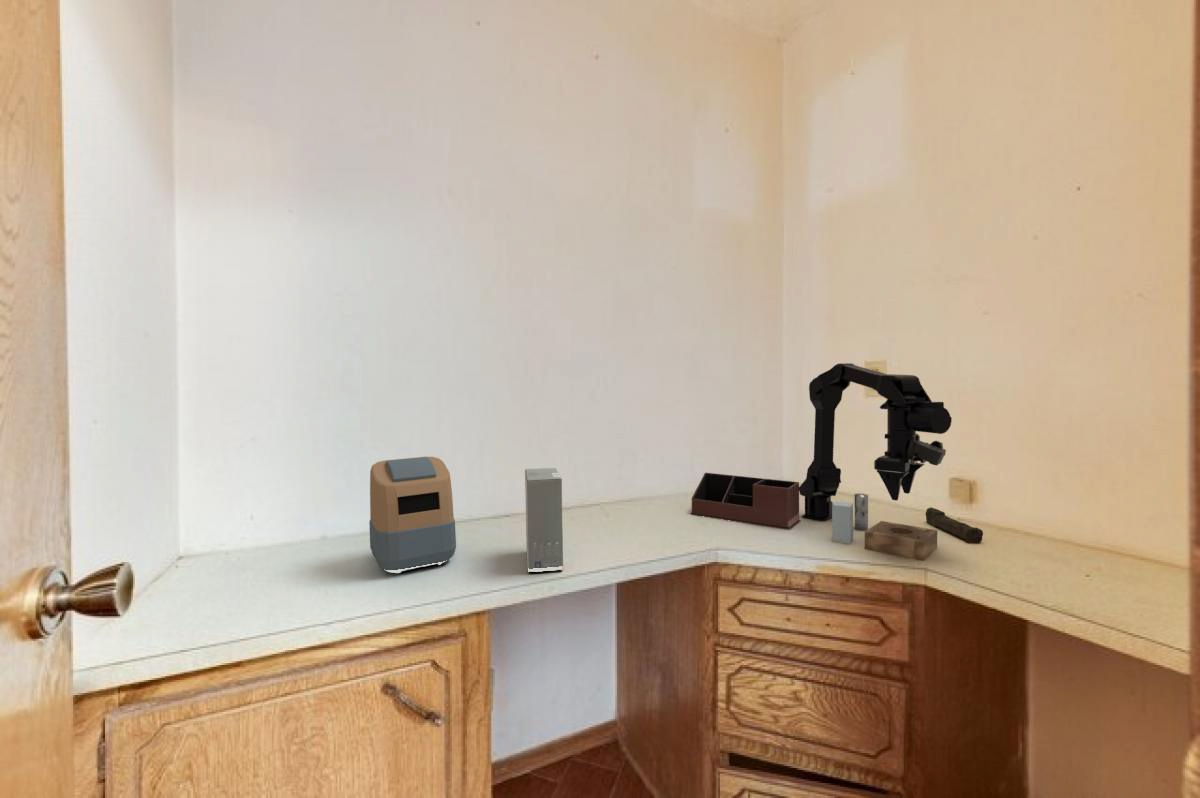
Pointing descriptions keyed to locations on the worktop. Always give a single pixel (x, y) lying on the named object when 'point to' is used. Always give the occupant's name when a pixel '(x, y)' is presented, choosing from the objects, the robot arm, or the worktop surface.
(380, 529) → the alarm clock
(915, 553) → the bore block
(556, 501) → the hard drive box
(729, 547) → the worktop surface
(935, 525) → the hand tool
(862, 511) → the cylinder
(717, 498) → the desk organizer
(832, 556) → the worktop surface
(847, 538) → the gray rectangular block
